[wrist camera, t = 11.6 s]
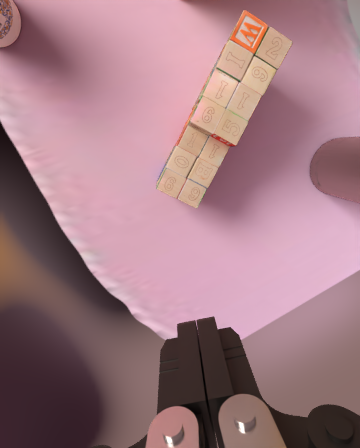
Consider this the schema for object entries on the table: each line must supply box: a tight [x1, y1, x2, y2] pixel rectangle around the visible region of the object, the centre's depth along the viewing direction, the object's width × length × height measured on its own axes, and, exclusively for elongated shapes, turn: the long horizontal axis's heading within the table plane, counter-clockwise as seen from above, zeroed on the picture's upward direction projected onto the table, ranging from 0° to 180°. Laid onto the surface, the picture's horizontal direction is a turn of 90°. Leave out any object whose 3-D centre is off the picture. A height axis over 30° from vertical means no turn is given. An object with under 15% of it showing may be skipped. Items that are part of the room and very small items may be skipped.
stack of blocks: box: [156, 10, 292, 208], centre depth 36 cm, size 21×6×12 cm, turn 153°
